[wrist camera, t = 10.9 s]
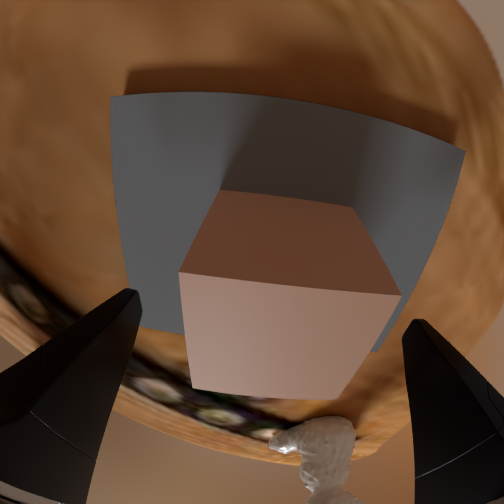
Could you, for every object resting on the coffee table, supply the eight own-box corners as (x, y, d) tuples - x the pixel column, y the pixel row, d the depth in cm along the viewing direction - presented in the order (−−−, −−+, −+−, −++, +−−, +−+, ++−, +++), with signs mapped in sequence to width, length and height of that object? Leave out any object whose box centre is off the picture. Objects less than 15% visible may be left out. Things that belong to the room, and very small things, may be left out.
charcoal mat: (373, 338, 15) (377, 351, 14) (145, 314, 15) (139, 326, 14) (452, 145, 9) (465, 150, 8) (123, 95, 9) (110, 97, 8)
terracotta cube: (322, 304, 12) (336, 399, 8) (215, 293, 12) (192, 387, 8) (352, 207, 10) (401, 295, 6) (219, 189, 10) (178, 272, 6)
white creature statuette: (267, 436, 26) (261, 529, 15) (286, 408, 21) (282, 533, 11) (343, 437, 26) (348, 522, 16) (379, 408, 21) (392, 516, 11)
